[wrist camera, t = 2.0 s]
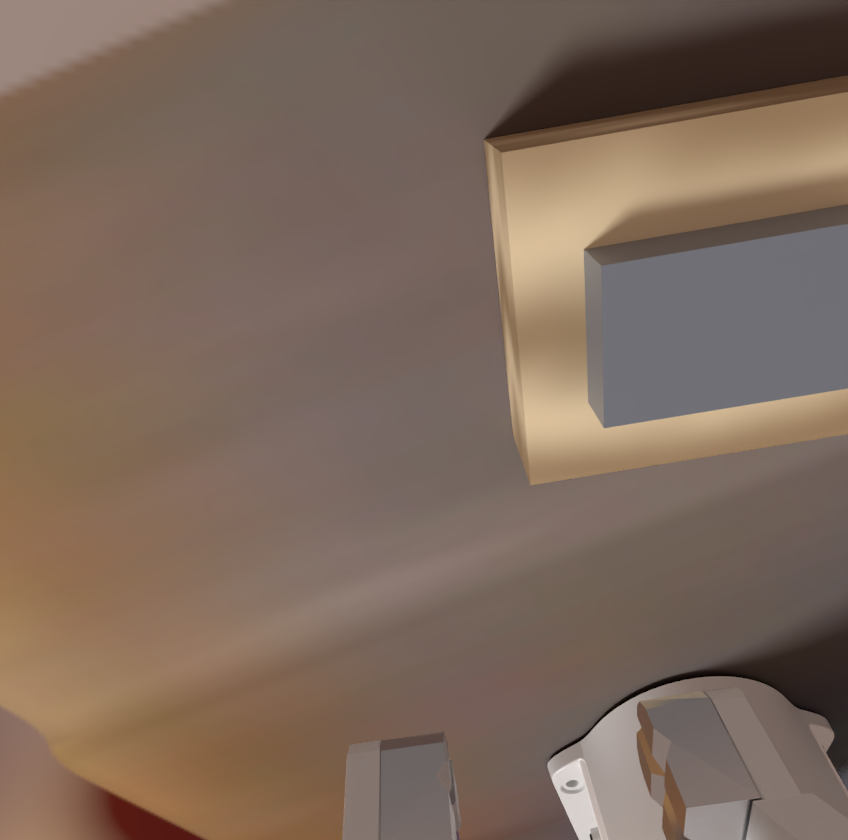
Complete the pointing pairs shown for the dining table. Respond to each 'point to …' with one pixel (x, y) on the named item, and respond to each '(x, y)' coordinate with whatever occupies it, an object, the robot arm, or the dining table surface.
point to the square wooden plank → (641, 219)
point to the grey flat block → (717, 317)
